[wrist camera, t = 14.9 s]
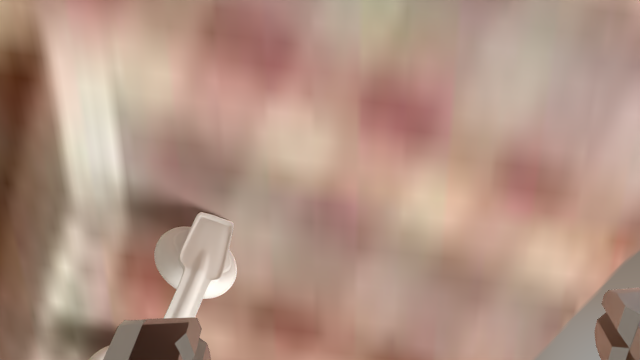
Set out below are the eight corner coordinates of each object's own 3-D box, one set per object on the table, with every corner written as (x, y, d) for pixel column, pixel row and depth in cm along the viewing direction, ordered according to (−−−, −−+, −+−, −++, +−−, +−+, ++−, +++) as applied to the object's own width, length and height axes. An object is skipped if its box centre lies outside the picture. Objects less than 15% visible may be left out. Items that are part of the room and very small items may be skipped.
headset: (188, 187, 42) (109, 335, 26) (261, 226, 44) (230, 388, 28) (96, 342, 49) (-10, 535, 33) (162, 371, 51) (92, 568, 35)
